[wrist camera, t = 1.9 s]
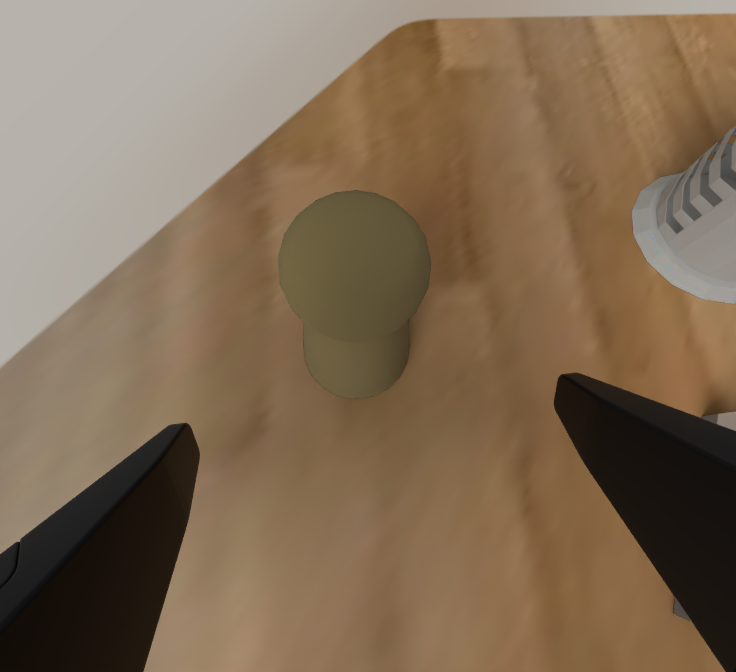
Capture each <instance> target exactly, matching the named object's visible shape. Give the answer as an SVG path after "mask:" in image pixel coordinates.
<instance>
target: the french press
mask: <svg viewBox="0 0 736 672" xmlns="http://www.w3.org/2000/svg"><path fill="white" fill-rule="evenodd" d="M735 135H736V125H735V126H734V127H733V128H732V129H731V130H730V131H728V132H727V133H726V135H725V136H724V137H723V138H721V139H720V140H719V141H718V142H720V141H721V140H722V139H723V140H722V142H721V144H720V145H716V144H717V143H718V142H717V143H715V144H714V145H713V146H712V147H711V148H710V149H709V150H708V151H706V153H705V154H704V155H702V156H701V157H700V158H699V159H701V158H702V157H703V156H704V157H703V158H702V160H701V161H699V159H697V160H696V161H695V162H694V163H693V164H692V165H691V166H690V167H689V168H688V169H687V170H686V171H685V172H683V173H679V174H674V175H669V176H664V177H660V178H658V179H657V180H655V181H654V182H653V183H651V184H650V185H648V186H647V187H646V188H644V189H643V190H641V192H640V194H639V196H638V199H637V201H636V203H635V205H634V207H633V210H632V220H633V234H634V237H635V239H636V241H637V243H638V245H639V247H640V249H641V251H642V253H643V254H644V256H645V258H646V260H647V262H648V263H649V264H650V265H651V266H653V267H654V268H655V269H656V270H657V271H658V272H659V273H660V274H661V275H662V276H663V277H664V278H665V279H666V280H667V281H668V282H670V283H671V284H672V285H674V286H676V287H678V288H680V289H682V290H684V291H686V292H688V293H690V294H692V295H694V296H696V297H698V298H700V299H705V300H711V301H718V302H725V303H731V304H735V303H736V139H735V141H734V143H733V144H730V143H727V142H728V140H729V138H730V136H735ZM711 153H716V154H715V156H714V158H713V160H712V159H708V157H709V155H710V154H711ZM722 154H725V155H726V156H724V157H723V158H722V159H721V155H722Z"/></svg>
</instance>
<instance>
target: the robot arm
mask: <svg viewBox="0 0 736 672" xmlns="http://www.w3.org/2000/svg"><path fill="white" fill-rule="evenodd" d="M554 407H555V410H556V413H557V414H558V416H559V418H560V420H561V422H562V424H563V426H564V427H565V429H566V431H567V433H568V435H569V437H570V439H571V440H572V442H573V444H574V446H575V448H576V450H577V452H578V453H579V455H580V457H581V459H582V460H583V462H584V464H585V465H586V467H587V468H588V470H589V472H590V473H591V475H592V476H593V477H594V479H595V480H596V482H597V483H598V485H599V486H600V488H601V489H602V491H603V492H604V494H605V495H606V497H607V498H608V499H609V501H610V502H611V504H612V505H613V507H614V508H615V510H616V511H617V513H618V514H619V516H620V517H621V519H622V520H623V522H624V523H625V524H626V526H627V527H628V529H629V530H630V532H631V533H632V535H633V536H634V538H635V539H636V541H637V542H638V544H639V545H640V546H641V548H642V549H643V551H644V552H645V554H646V555H647V557H648V558H649V560H650V561H651V563H652V564H653V566H654V567H655V568H656V570H657V571H658V573H659V574H660V576H661V577H662V579H663V580H664V582H665V583H666V585H667V586H668V588H669V589H670V591H671V592H672V593H673V595H674V596H675V598H676V599H677V601H678V602H679V604H680V605H681V607H682V608H683V610H684V611H685V613H686V614H687V615H688V617H689V618H690V620H691V621H692V623H693V624H694V626H695V627H696V629H697V630H698V632H699V633H700V635H701V636H702V638H703V639H704V640H705V642H706V643H707V645H708V646H709V648H710V649H711V651H712V652H713V654H714V655H715V657H716V658H717V660H718V661H719V662H720V664H721V665H722V667H723V668H724V670H725V671H726V672H736V431H734V430H732V429H729V428H726V427H724V426H721V425H718V424H715V423H713V422H710V421H707V420H705V419H702V418H699V417H696V416H694V415H691V414H688V413H686V412H683V411H680V410H678V409H675V408H672V407H669V406H667V405H664V404H661V403H659V402H656V401H653V400H650V399H648V398H645V397H642V396H640V395H637V394H634V393H631V392H629V391H626V390H623V389H621V388H618V387H615V386H612V385H610V384H607V383H604V382H602V381H599V380H596V379H594V378H591V377H588V376H585V375H583V374H580V373H568V374H562V375H560V376H559V378H558V381H557V386H556V392H555V398H554ZM199 459H200V452H199V448H198V445H197V442H196V440H195V437H194V434H193V431H192V428H191V426H190V425H189V424H187V423H180V424H173V425H169V426H167V427H166V428H165V429H164V430H162V431H161V432H160V433H158V434H157V435H156V436H154V437H153V438H152V439H150V440H149V441H148V442H147V443H145V444H144V445H143V446H141V447H140V448H139V449H137V450H136V451H135V452H133V453H132V454H131V455H130V456H128V457H127V458H126V459H124V460H123V461H122V462H120V463H119V464H118V465H116V466H115V467H114V468H113V469H111V470H110V471H109V472H107V473H106V474H105V475H103V476H102V477H101V478H99V479H98V480H97V481H96V482H94V483H93V484H92V485H90V486H89V487H88V488H86V489H85V490H84V491H82V492H81V493H80V494H79V495H77V496H76V497H75V498H73V499H72V500H71V501H69V502H68V503H67V504H65V505H64V506H63V507H62V508H60V509H59V510H58V511H56V512H55V513H54V514H52V515H51V516H50V517H48V518H47V519H46V520H44V521H43V522H42V523H41V524H39V525H38V526H37V527H35V528H34V529H33V530H31V531H30V532H29V533H27V534H26V535H25V536H24V537H22V538H21V540H20V542H16V543H14V544H13V545H12V546H10V547H9V548H8V549H6V550H5V551H4V552H3V553H1V554H0V672H143V671H144V668H145V665H146V661H147V658H148V655H149V651H150V648H151V644H152V641H153V638H154V634H155V631H156V628H157V624H158V621H159V618H160V614H161V611H162V608H163V604H164V601H165V598H166V594H167V591H168V588H169V584H170V581H171V578H172V574H173V571H174V568H175V564H176V561H177V558H178V554H179V551H180V547H181V544H182V541H183V537H184V534H185V531H186V527H187V523H188V520H189V515H190V510H191V504H192V499H193V493H194V488H195V482H196V476H197V471H198V465H199Z"/></svg>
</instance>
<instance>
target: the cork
mask: <svg viewBox="0 0 736 672" xmlns="http://www.w3.org/2000/svg"><path fill="white" fill-rule="evenodd" d="M278 268H279V279H280V285H281V287H282V290H283V292H284V294H285V296H286V298H287V300H288V302H289V304H290V306H291V308H292V311H293V312H294V313H295V314H296V315H297V316H298V317H299V318H300V319H301V320H302V321H303V346H304V356H305V362H306V365H307V367H308V369H309V371H310V373H311V375H312V377H313V378H314V379H315V380H316V381H317V382H318V383H319V384H320V385H321V386H322V387H323V388H324V389H326V390H328V391H329V392H331V393H333V394H335V395H337V396H340V397H346V398H352V399H360V398H367V397H373V396H375V395H377V394H379V393H381V392H383V391H385V390H387V389H388V388H389V387H390V386H391V385H392V384H394V383H395V382H396V381H397V380H398V379H399V378H400V376H401V374H402V372H403V370H404V368H405V366H406V364H407V359H408V352H409V318H410V317H411V316H412V315H414V314H415V313H416V311H417V309H418V307H419V305H420V303H421V301H422V299H423V297H424V295H425V293H426V291H427V288H428V285H429V277H430V269H431V261H430V255H429V250H428V246H427V242H426V237H425V235H424V234H423V232H422V230H421V229H420V227H419V226H418V224H417V223H416V221H415V219H414V218H413V217H412V216H411V215H410V214H409V213H407V212H406V211H405V210H404V209H403V208H401V207H400V206H399V205H398V204H397V203H395V202H394V201H392V200H390V199H387V198H385V197H383V196H381V195H378V194H376V193H370V192H363V191H357V190H354V191H345V192H336V193H333V194H330V195H328V196H325V197H323V198H320V199H318V200H316V201H314V202H313V203H312V204H311V205H309V206H308V207H307V208H305V209H304V210H303V211H302V212H300V213H299V214H298V215H297V216H296V218H295V219H294V221H293V222H292V223H291V225H290V226H289V228H288V229H287V231H286V232H285V234H284V237H283V240H282V244H281V248H280V252H279V257H278Z"/></svg>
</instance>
